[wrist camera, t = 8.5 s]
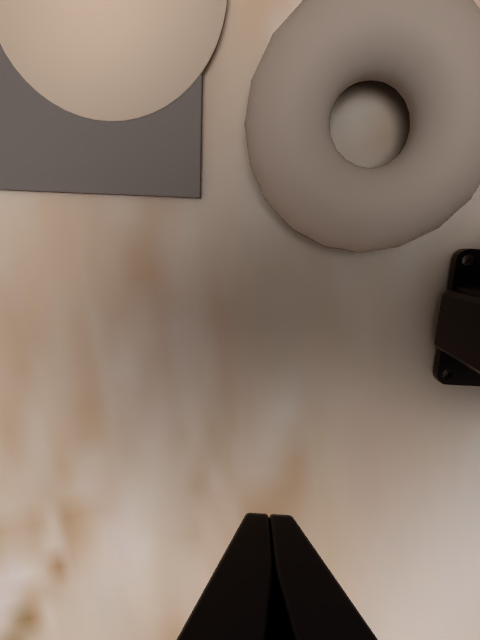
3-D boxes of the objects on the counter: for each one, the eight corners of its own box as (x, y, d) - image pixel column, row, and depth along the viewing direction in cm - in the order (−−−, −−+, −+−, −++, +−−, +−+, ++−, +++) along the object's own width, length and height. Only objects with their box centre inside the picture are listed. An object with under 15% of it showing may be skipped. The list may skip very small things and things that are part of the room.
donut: (201, 109, 16) (324, 292, 18) (187, 75, 13) (340, 304, 14) (399, -53, 15) (517, 162, 16) (442, -139, 11) (586, 142, 13)
